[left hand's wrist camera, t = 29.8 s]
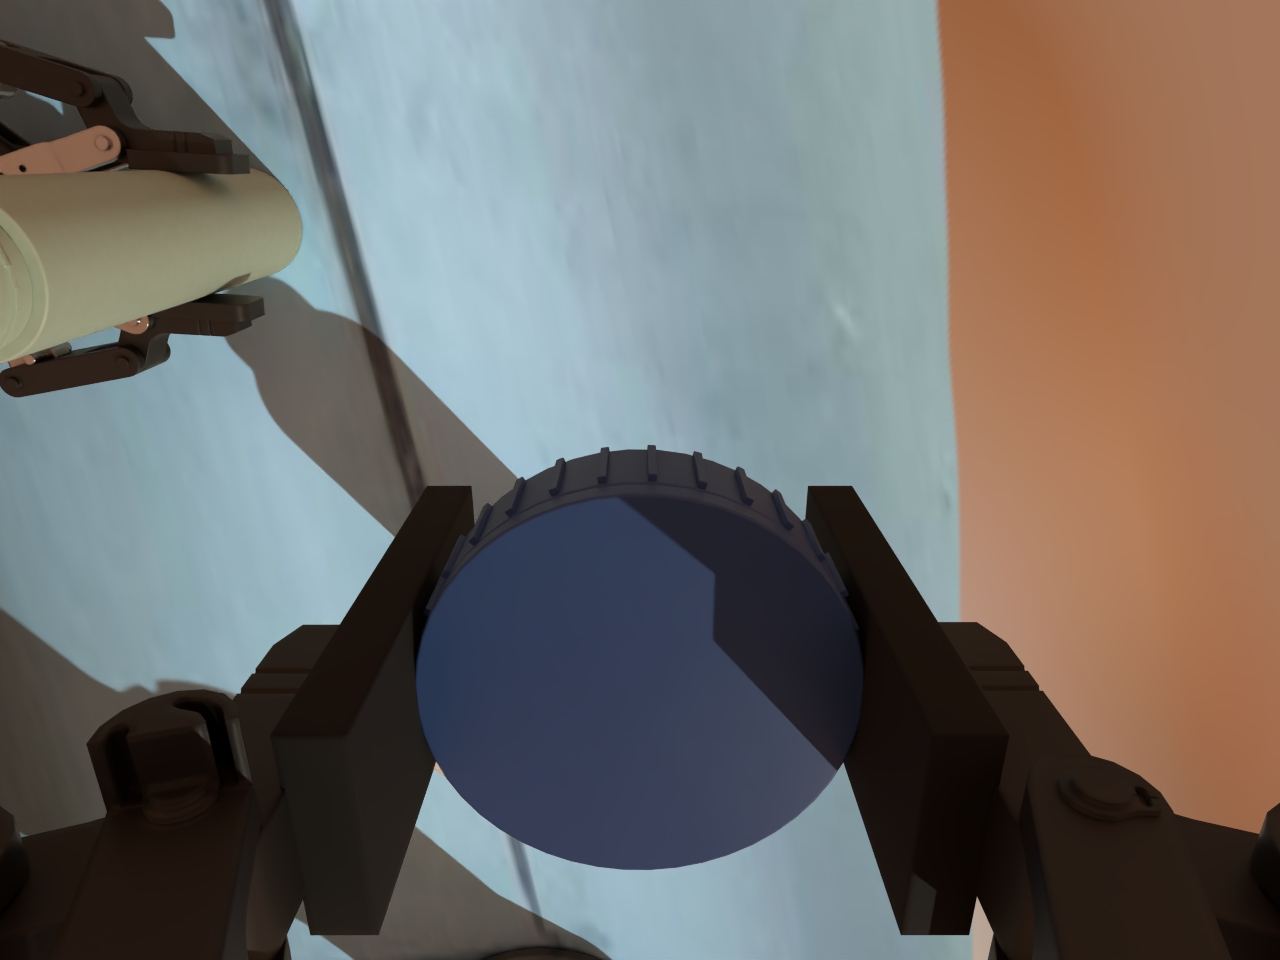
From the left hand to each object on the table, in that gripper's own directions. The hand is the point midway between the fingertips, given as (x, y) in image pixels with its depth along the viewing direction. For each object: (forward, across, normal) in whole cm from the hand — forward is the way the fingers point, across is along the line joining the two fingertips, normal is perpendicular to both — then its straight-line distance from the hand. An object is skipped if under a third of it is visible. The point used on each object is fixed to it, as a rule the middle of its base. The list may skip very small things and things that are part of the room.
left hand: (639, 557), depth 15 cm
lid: (-4, 0, 0) cm, 4 cm away
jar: (+27, +18, -4) cm, 33 cm away
